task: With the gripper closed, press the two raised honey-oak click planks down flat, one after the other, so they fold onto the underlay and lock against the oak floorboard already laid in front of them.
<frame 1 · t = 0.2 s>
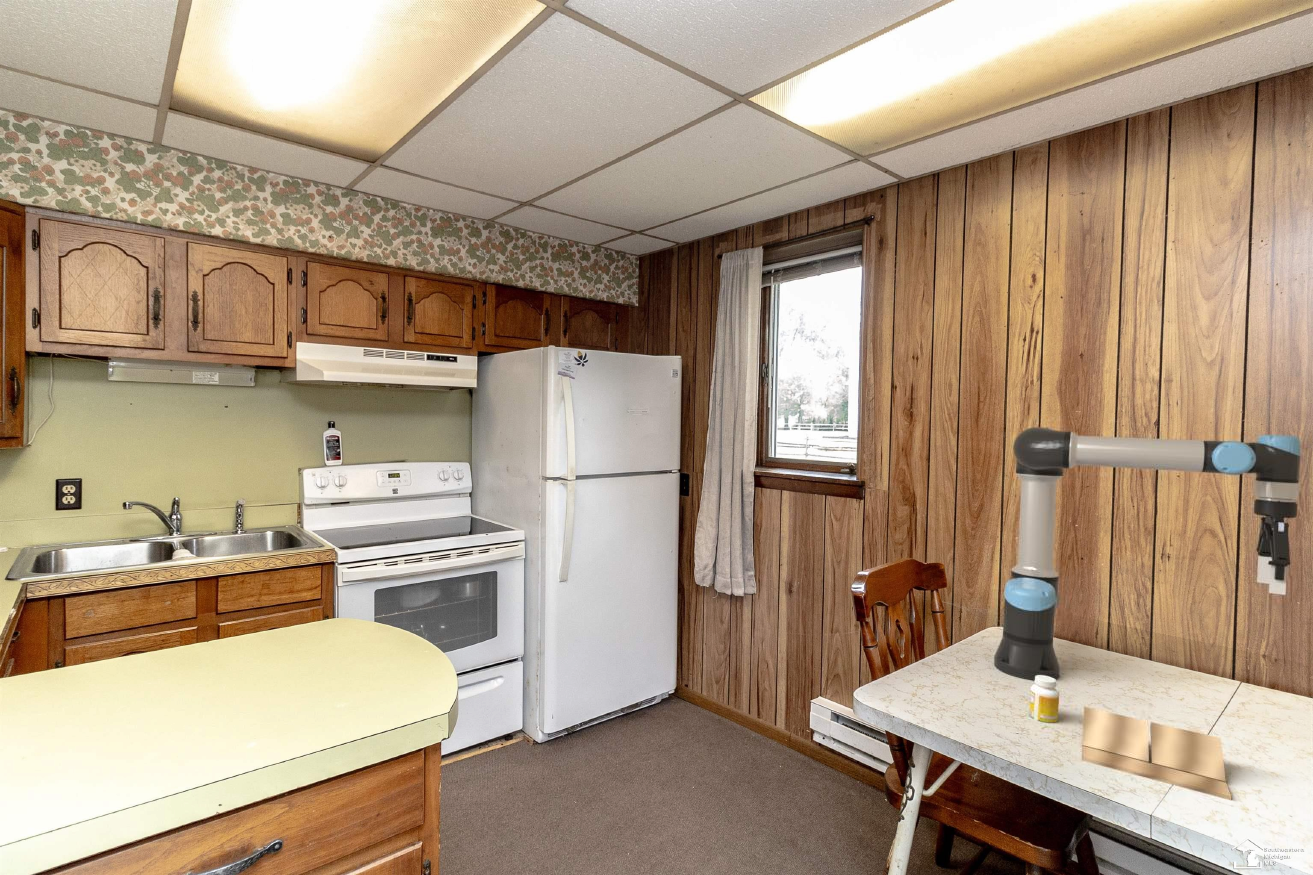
hand: (1270, 588, 157), 28 cm above the table, fingers open, 13 cm apart
supplement bottle: (1043, 722, 143), on the table
plank b: (1186, 752, 123), point 4 cm above the table, hinge at 34.0°
laid floorboard: (1151, 777, 121), resting on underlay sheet
plank a: (1114, 735, 130), point 4 cm above the table, hinge at 34.0°
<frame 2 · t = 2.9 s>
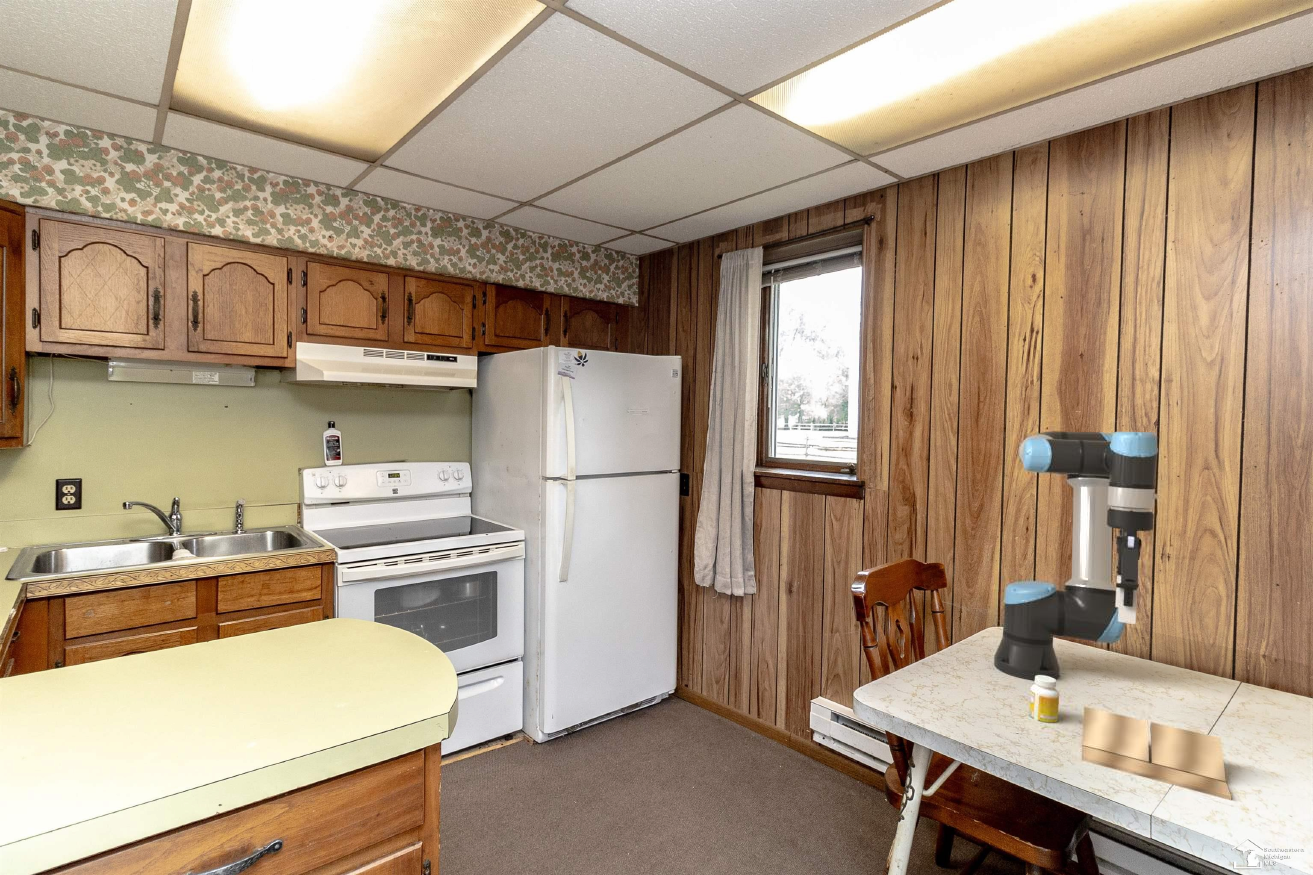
hand: (1124, 615, 131), 27 cm above the table, fingers open, 13 cm apart
nothing on the table moved.
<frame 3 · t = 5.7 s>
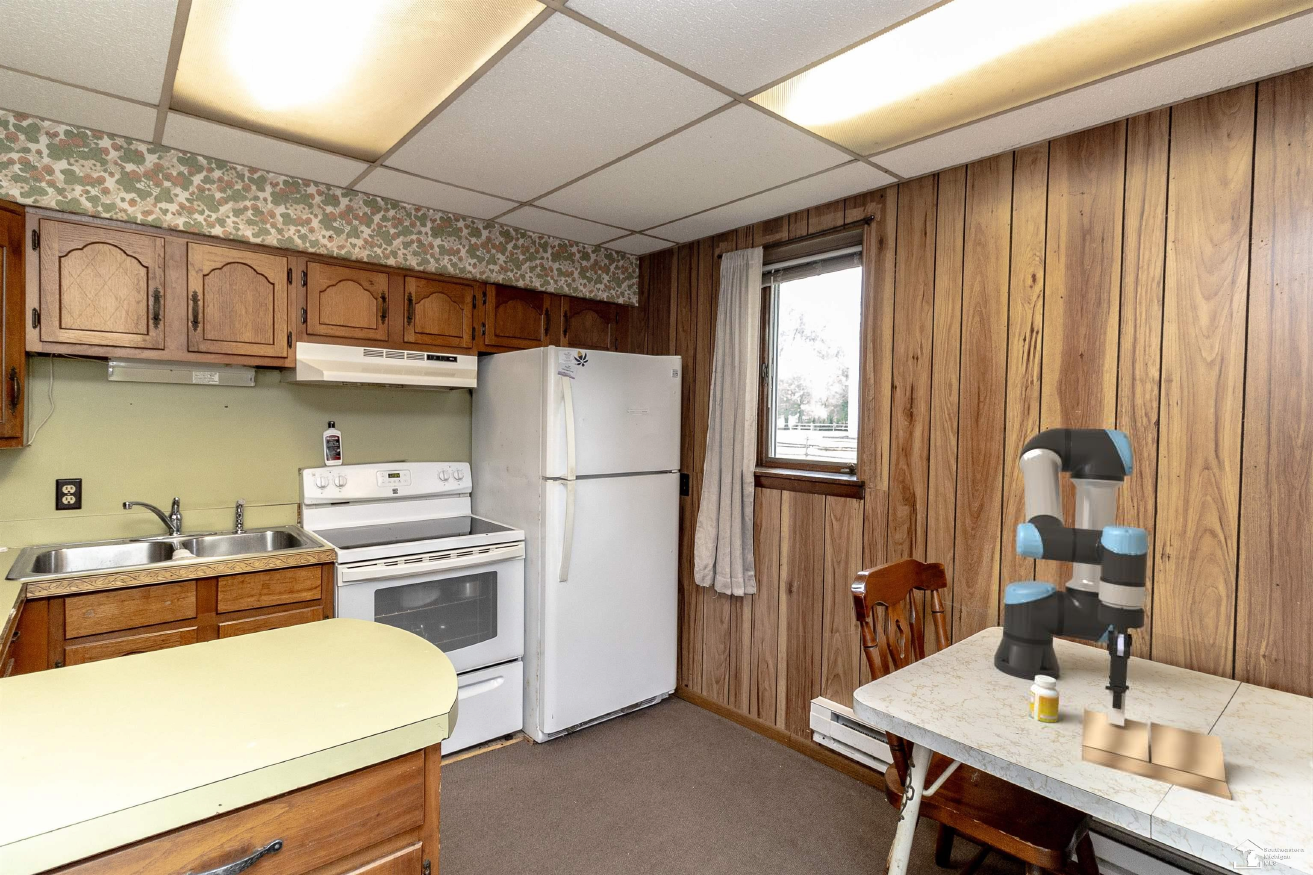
hand: (1115, 722, 131), 6 cm above the table, fingers closed
plank a: (1114, 736, 130), point 3 cm above the table, hinge at 28.9°, touching gripper
everything else where it was.
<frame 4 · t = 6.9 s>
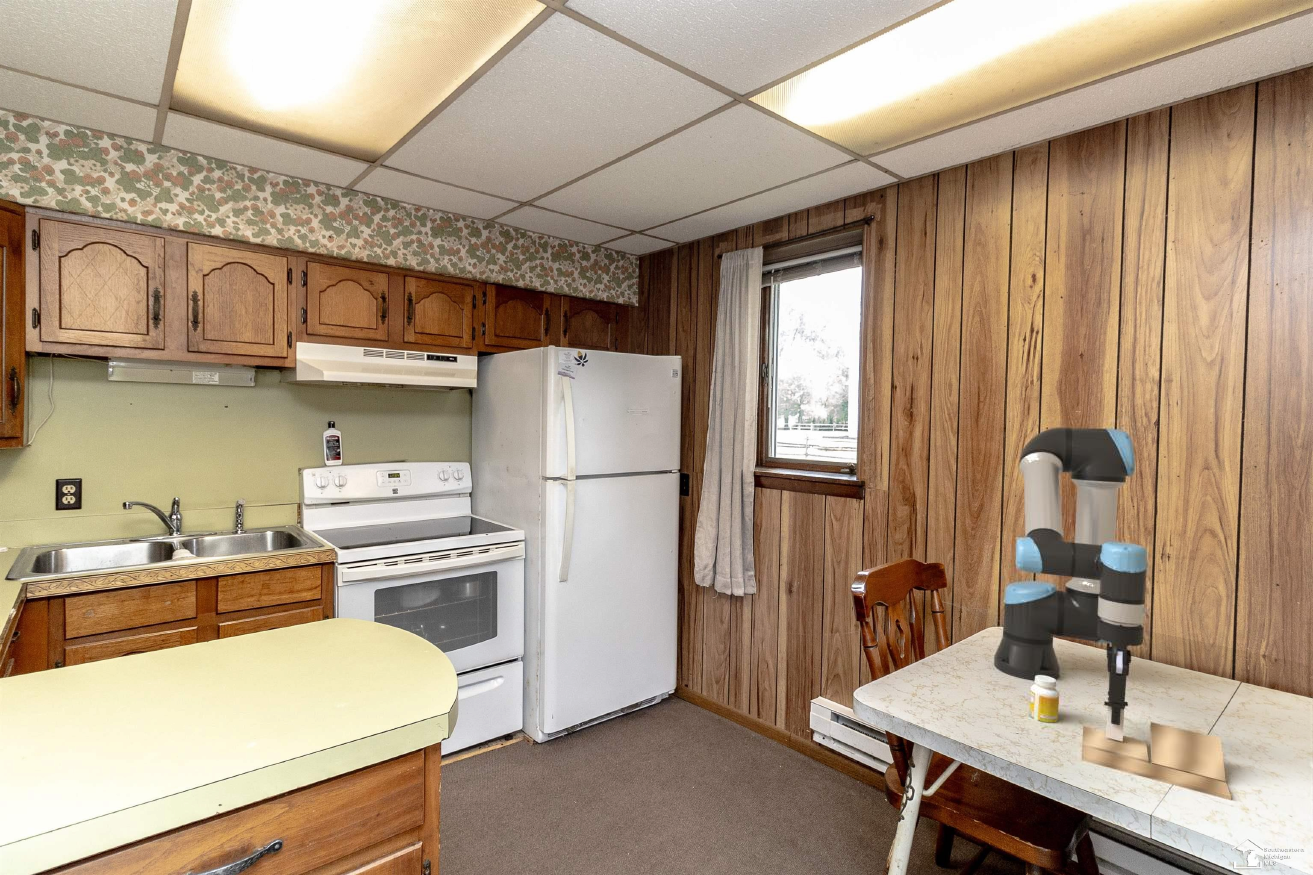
hand: (1114, 737, 131), 2 cm above the table, fingers closed
plank a: (1114, 745, 130), point 1 cm above the table, hinge at 2.1°
everything else where it was.
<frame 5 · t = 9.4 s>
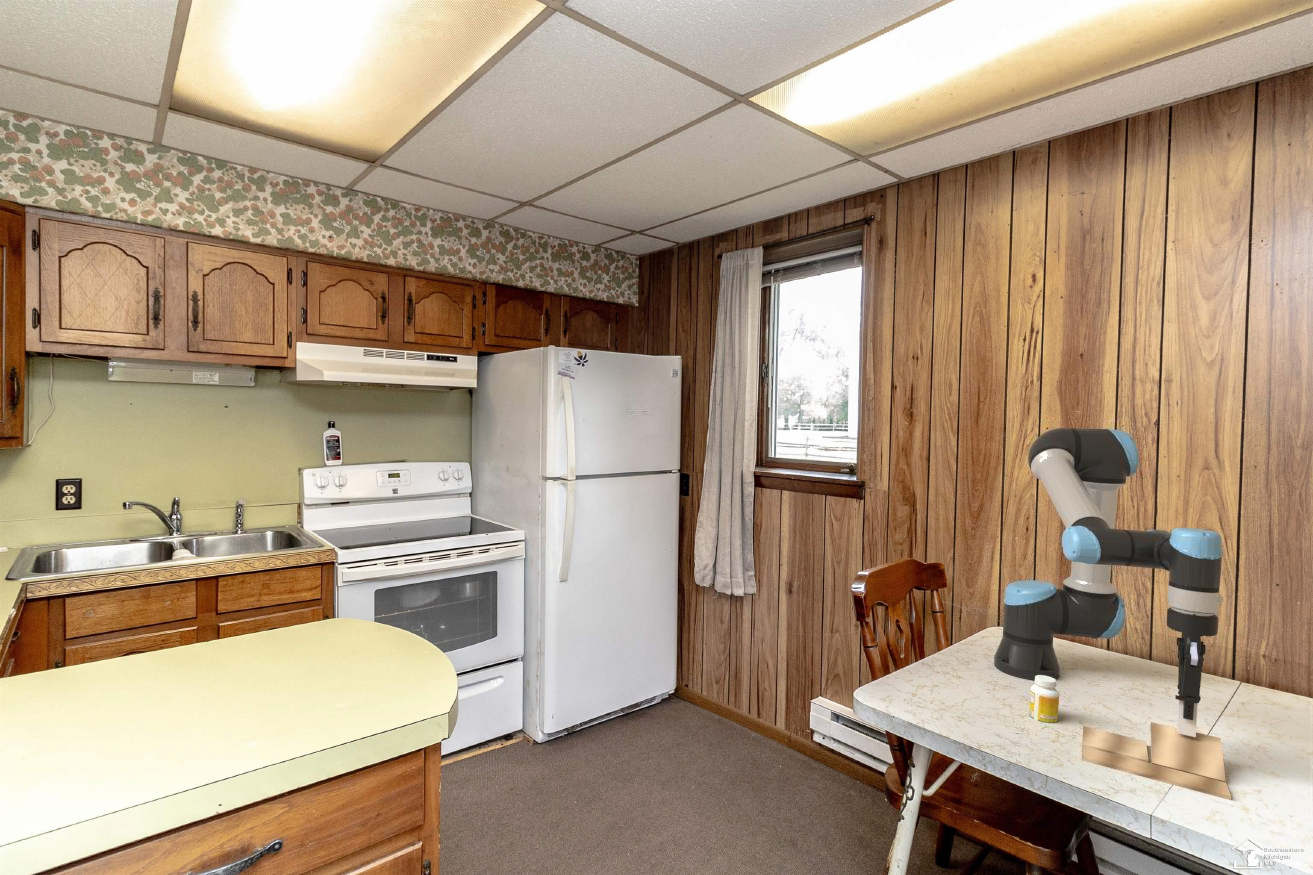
hand: (1186, 733, 125), 6 cm above the table, fingers closed
plank b: (1186, 752, 123), point 4 cm above the table, hinge at 33.9°, touching gripper
everything else where it was.
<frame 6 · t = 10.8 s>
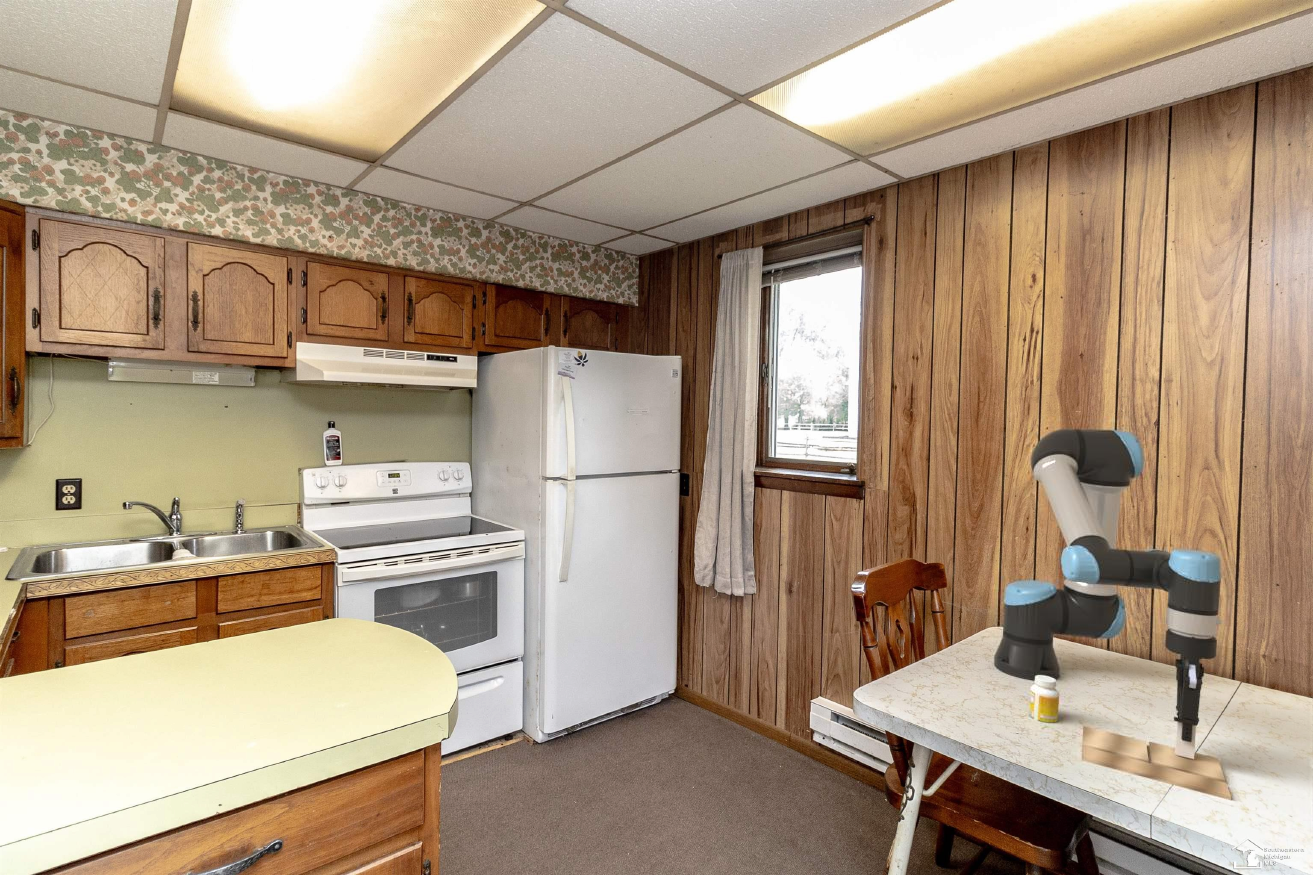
hand: (1184, 755, 125), 2 cm above the table, fingers closed
plank b: (1184, 763, 124), point 1 cm above the table, hinge at 2.6°, touching gripper
everything else where it was.
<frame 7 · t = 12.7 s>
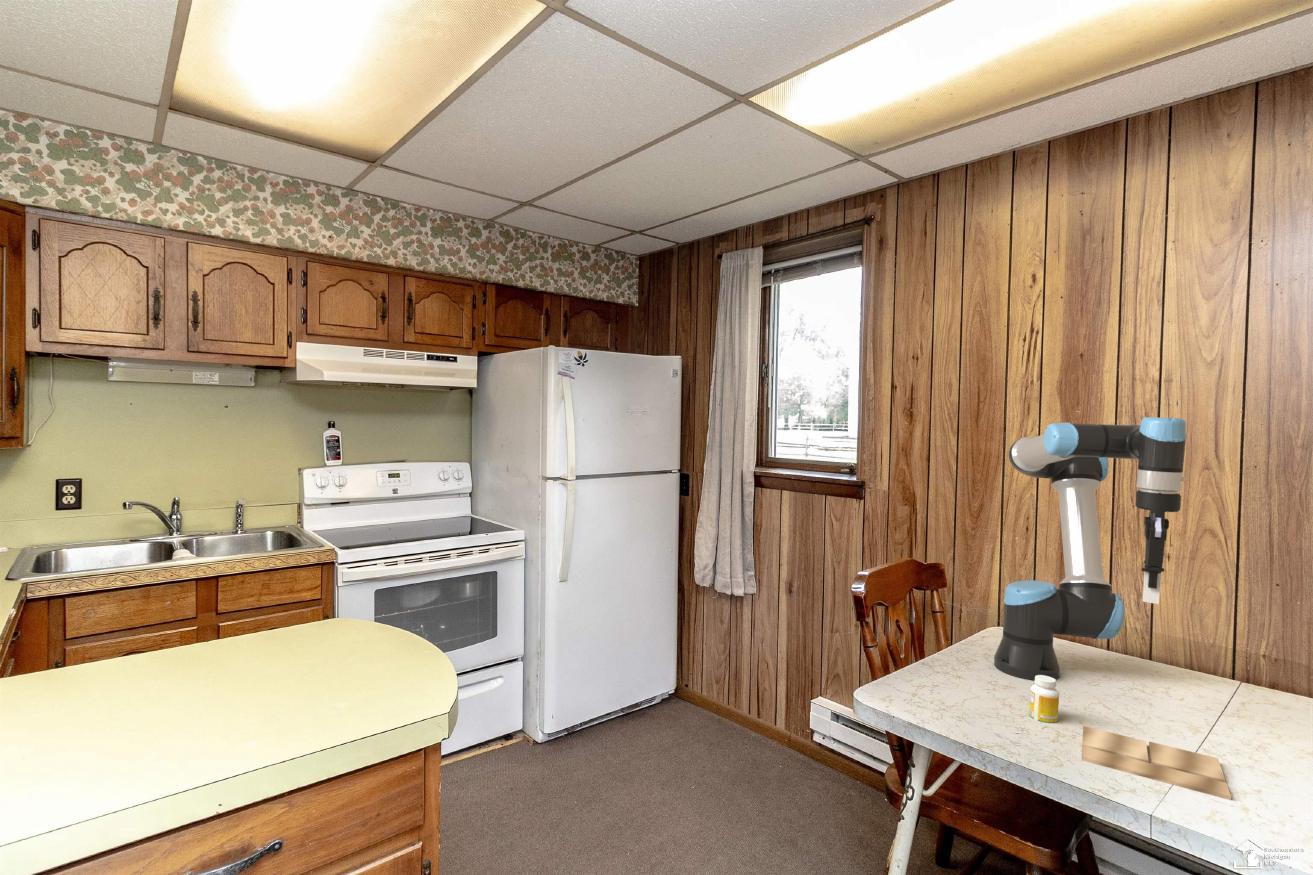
hand: (1150, 601, 138), 28 cm above the table, fingers closed
plank b: (1184, 763, 124), point 1 cm above the table, hinge at 2.6°
everything else where it was.
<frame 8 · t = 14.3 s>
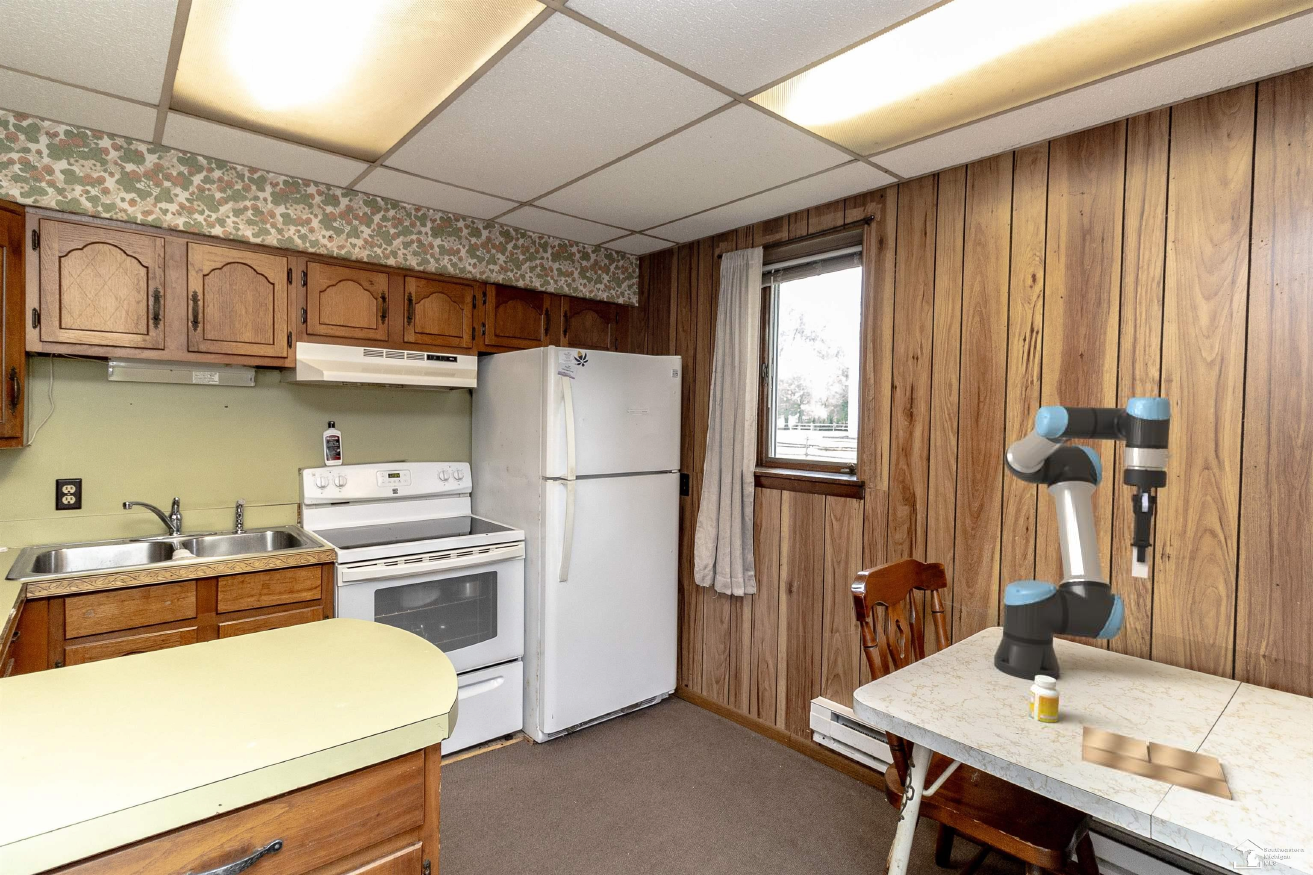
hand: (1139, 576, 143), 32 cm above the table, fingers closed
nothing on the table moved.
at the end: plank a at +2° (first picture: +34°); plank b at +3° (first picture: +34°) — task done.
